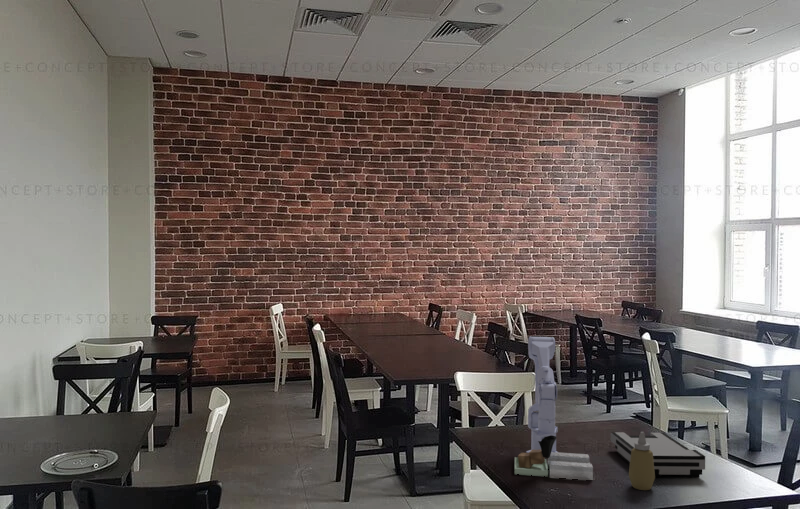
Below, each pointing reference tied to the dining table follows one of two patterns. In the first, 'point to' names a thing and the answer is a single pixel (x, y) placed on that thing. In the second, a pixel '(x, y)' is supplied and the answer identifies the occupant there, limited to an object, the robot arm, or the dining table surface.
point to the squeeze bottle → (641, 465)
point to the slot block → (570, 466)
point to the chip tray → (532, 469)
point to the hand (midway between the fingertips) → (546, 457)
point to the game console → (663, 454)
